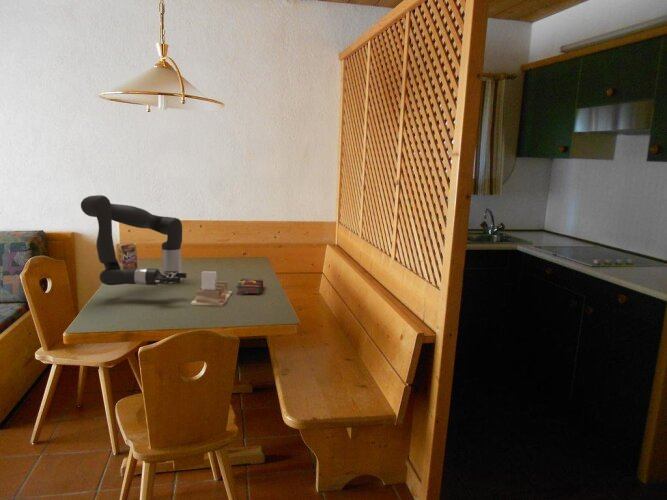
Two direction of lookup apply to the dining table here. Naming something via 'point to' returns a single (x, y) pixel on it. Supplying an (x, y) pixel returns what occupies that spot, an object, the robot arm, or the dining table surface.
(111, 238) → the robot arm
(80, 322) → the dining table surface
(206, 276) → the aluminium block
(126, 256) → the candy box
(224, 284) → the slot rack
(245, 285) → the decorative book
